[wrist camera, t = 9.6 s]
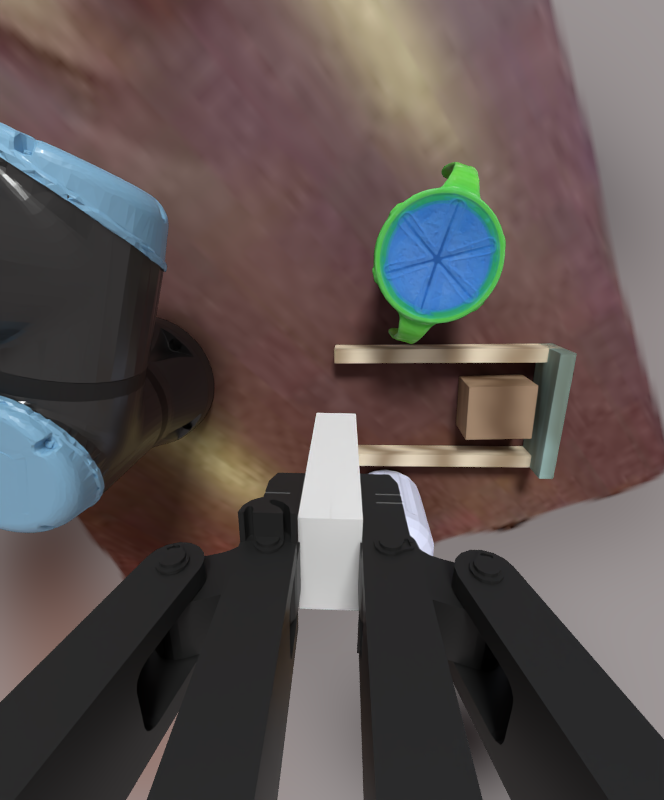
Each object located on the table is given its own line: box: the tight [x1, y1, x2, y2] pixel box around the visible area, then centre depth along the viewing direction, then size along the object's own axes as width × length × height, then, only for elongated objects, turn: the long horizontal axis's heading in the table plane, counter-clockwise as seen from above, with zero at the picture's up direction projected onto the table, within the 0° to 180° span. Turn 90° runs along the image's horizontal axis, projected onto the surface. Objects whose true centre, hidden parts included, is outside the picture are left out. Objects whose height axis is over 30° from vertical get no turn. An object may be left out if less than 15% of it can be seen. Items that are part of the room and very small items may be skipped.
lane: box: [334, 344, 577, 479], centre depth 45 cm, size 24×14×5 cm, turn 91°
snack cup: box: [372, 162, 506, 344], centre depth 37 cm, size 16×10×10 cm
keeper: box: [456, 374, 538, 440], centre depth 45 cm, size 7×6×4 cm
